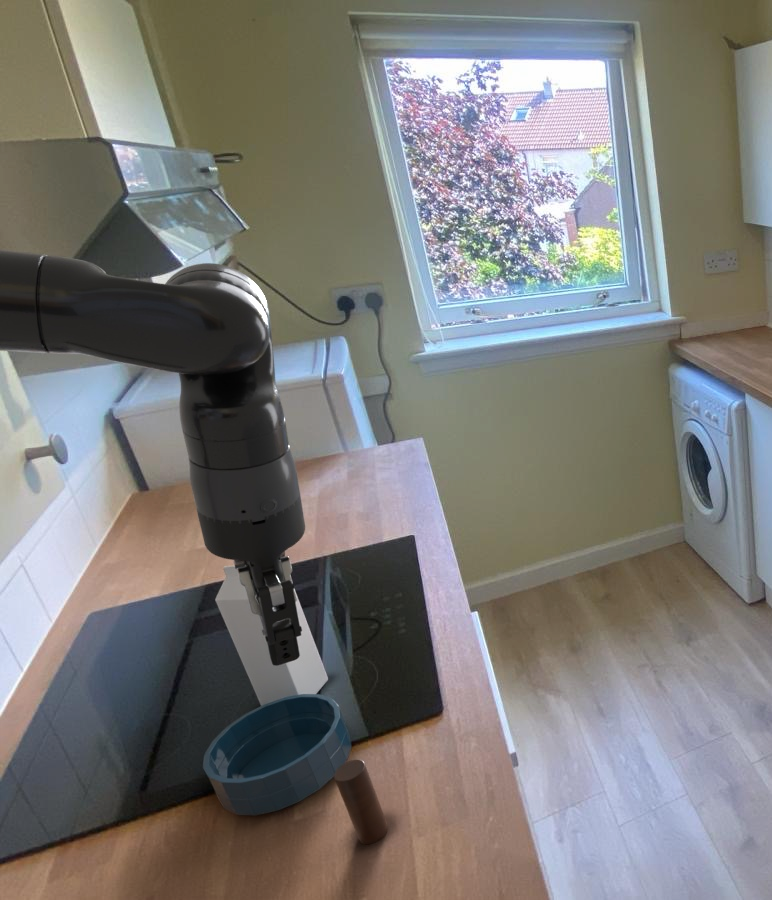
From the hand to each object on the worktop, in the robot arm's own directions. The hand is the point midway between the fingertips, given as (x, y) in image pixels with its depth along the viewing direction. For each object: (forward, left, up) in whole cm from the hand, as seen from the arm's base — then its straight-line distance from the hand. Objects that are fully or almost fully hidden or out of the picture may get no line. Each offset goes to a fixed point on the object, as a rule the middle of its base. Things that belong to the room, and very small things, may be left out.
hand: (275, 634), depth 72 cm
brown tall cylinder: (+1, -2, -29) cm, 29 cm away
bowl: (+4, +16, -29) cm, 33 cm away
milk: (+14, +28, -29) cm, 43 cm away
